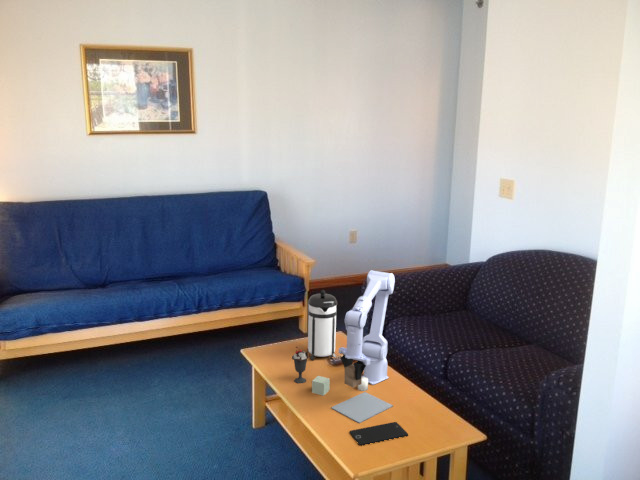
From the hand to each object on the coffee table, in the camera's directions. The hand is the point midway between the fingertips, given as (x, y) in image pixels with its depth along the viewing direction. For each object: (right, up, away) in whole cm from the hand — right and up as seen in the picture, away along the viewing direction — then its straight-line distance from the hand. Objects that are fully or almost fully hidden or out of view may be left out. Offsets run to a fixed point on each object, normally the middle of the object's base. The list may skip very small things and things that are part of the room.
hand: (353, 376), depth 219 cm
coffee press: (-12, 0, +42) cm, 44 cm away
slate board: (+3, -10, -4) cm, 11 cm away
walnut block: (0, -3, 0) cm, 3 cm away
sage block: (-12, -7, +7) cm, 16 cm away
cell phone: (+7, -15, -21) cm, 27 cm away
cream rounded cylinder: (+4, -7, +10) cm, 13 cm away
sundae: (-20, -5, +16) cm, 27 cm away
